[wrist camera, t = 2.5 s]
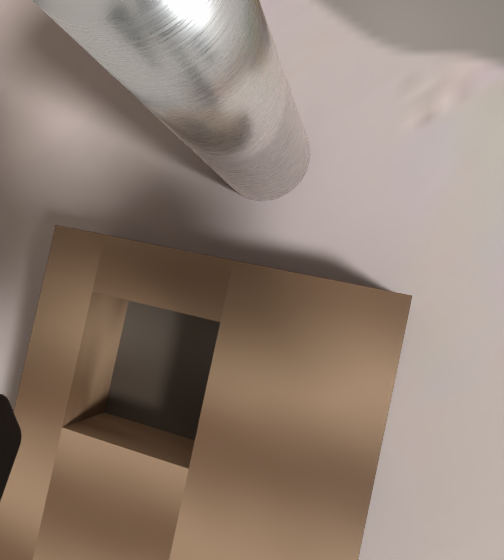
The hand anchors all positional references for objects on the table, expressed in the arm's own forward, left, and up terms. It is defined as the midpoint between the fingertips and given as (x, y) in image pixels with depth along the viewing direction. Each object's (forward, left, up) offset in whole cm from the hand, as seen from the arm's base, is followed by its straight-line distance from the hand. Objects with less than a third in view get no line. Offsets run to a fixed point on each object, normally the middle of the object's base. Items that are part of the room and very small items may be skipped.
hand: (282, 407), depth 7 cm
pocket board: (-4, +5, -12) cm, 14 cm away
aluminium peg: (+8, +5, -12) cm, 15 cm away
